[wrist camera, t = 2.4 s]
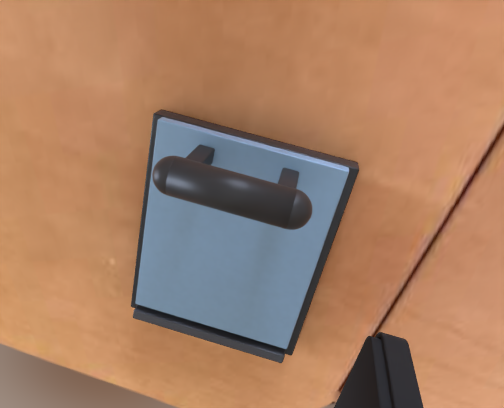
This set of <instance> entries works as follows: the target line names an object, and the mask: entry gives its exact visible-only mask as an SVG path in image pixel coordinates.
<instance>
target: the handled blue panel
mask: <svg viewBox="0 0 504 408" xmlns="http://www.w3.org/2000/svg"><path fill="white" fill-rule="evenodd" d="M348 174H349V168H348V167H346V166H342V165H338V164H335V163H331V162H327V161H323V160H320V159H316V158H312V157H309V156H305V155H301V154H298V153H294V152H290V151H287V150H283V149H279V148H276V147H272V146H268V145H265V144H261V143H257V142H254V141H250V140H246V139H242V138H239V137H235V136H231V135H228V134H224V133H220V132H217V131H213V130H209V129H206V128H202V127H198V126H195V125H191V124H187V123H184V122H180V121H176V120H172V119H169V118H165V117H161V118H160V119H158V123H157V131H156V139H155V147H154V155H153V163H152V171H151V180H150V188H149V196H148V204H147V212H146V220H145V229H144V237H143V245H142V253H141V261H140V269H139V278H138V286H137V294H136V302H135V303H136V304H138V305H141V306H145V307H148V308H151V309H155V310H158V311H161V312H165V313H168V314H171V315H175V316H178V317H181V318H184V319H188V320H191V321H194V322H198V323H201V324H204V325H208V326H211V327H214V328H217V329H221V330H224V331H227V332H231V333H234V334H237V335H241V336H244V337H247V338H250V339H254V340H257V341H260V342H264V343H267V344H270V345H274V346H277V347H280V348H283V349H287V347H288V344H289V341H290V339H291V336H292V333H293V330H294V327H295V324H296V322H297V319H298V316H299V313H300V310H301V307H302V305H303V302H304V299H305V296H306V293H307V290H308V288H309V285H310V282H311V279H312V276H313V273H314V271H315V268H316V265H317V262H318V259H319V256H320V253H321V251H322V248H323V245H324V242H325V239H326V236H327V234H328V231H329V228H330V225H331V222H332V219H333V217H334V214H335V211H336V208H337V205H338V202H339V200H340V197H341V194H342V191H343V188H344V185H345V183H346V180H347V177H348Z"/></svg>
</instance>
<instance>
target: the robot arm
mask: <svg viewBox="0 0 504 408" xmlns="http://www.w3.org/2000/svg"><path fill="white" fill-rule="evenodd" d="M334 408H423V404H422V400H421V395H420V391H419V387H418V383H417V379H416V374H415V370H414V366H413V362H412V357H411V353H410V349H409V345H408V342H407V341H406V340H405V339H403V338H399V337H396V336H392V335H389V334H385V333H382V332H379V333H378V334H377V335H376V337H371V336H368V337H367V338H366V340H365V342H364V344H363V347H362V349H361V351H360V353H359V355H358V357H357V359H356V362H355V364H354V366H353V368H352V370H351V372H350V375H349V377H348V379H347V381H346V383H345V385H344V387H343V390H342V392H341V394H340V396H339V398H338V400H337V402H336V405H335V407H334Z"/></svg>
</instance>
